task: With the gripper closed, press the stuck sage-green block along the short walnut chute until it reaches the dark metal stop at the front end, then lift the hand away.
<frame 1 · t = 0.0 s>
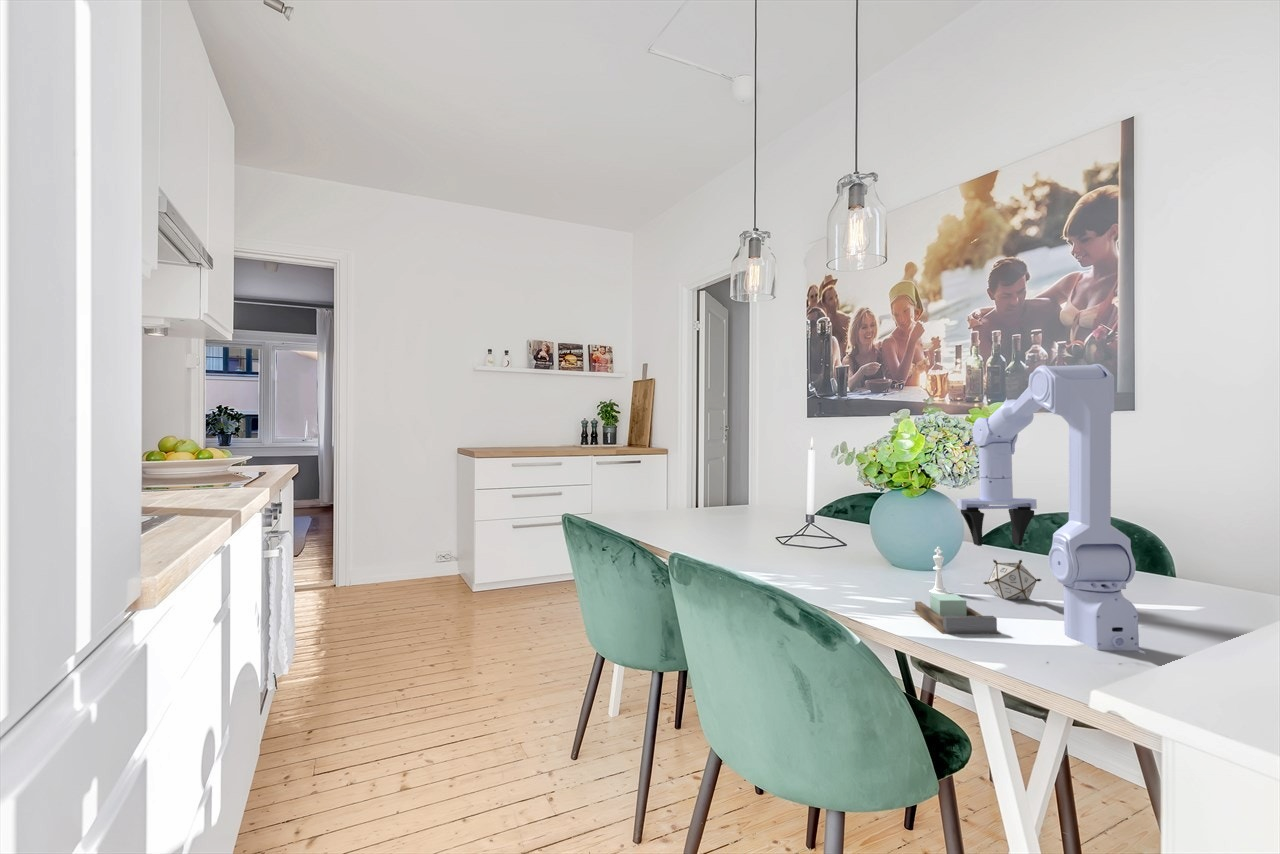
hand: (997, 544, 122), 10 cm above the table, tool pointing down, fingers open, 7 cm apart
chute: (953, 626, 103), on the table
game die: (1012, 603, 117), on the table
stuck block: (948, 607, 105), point 3 cm above the table, slide at 0.0 cm
chess piece: (939, 597, 122), on the table
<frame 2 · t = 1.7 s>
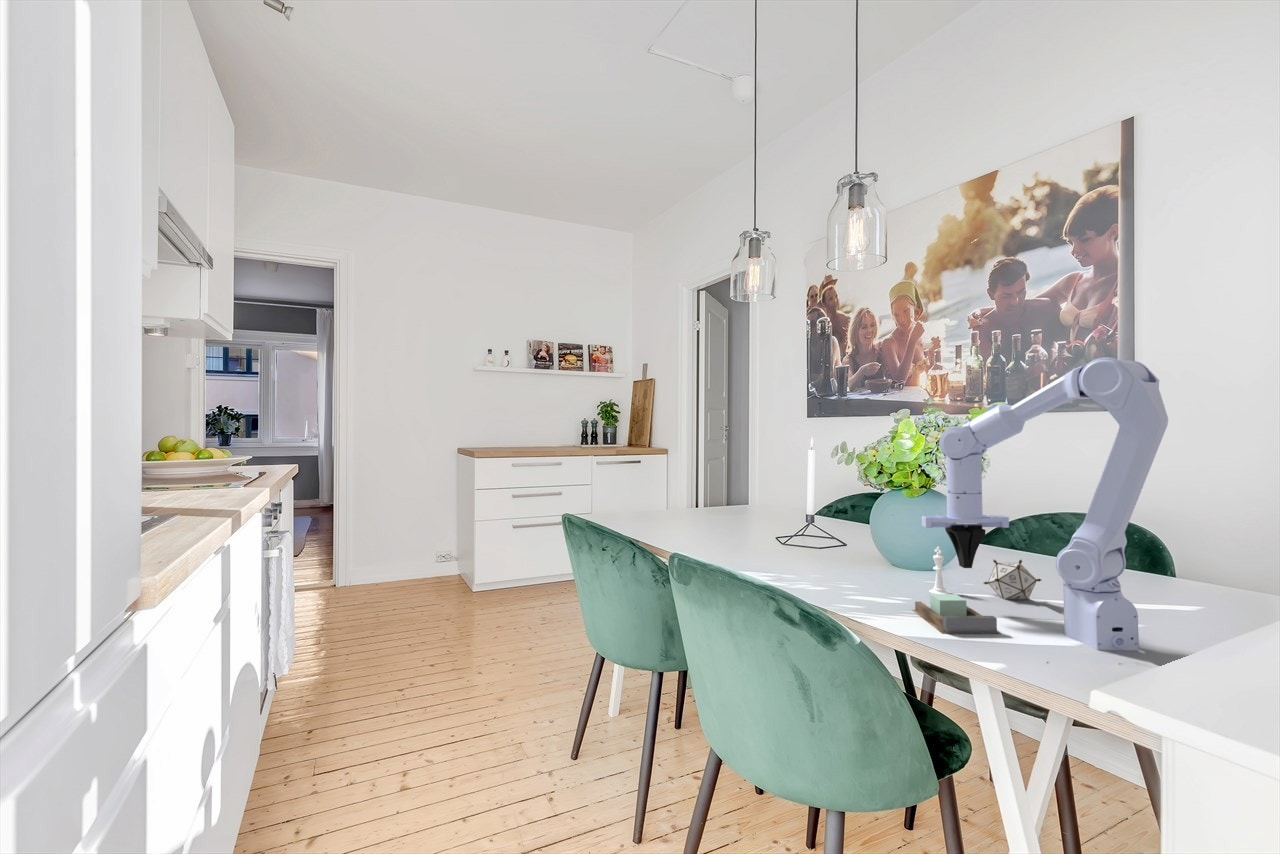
hand: (965, 567, 110), 8 cm above the table, tool pointing down, fingers closed
nothing on the table moved.
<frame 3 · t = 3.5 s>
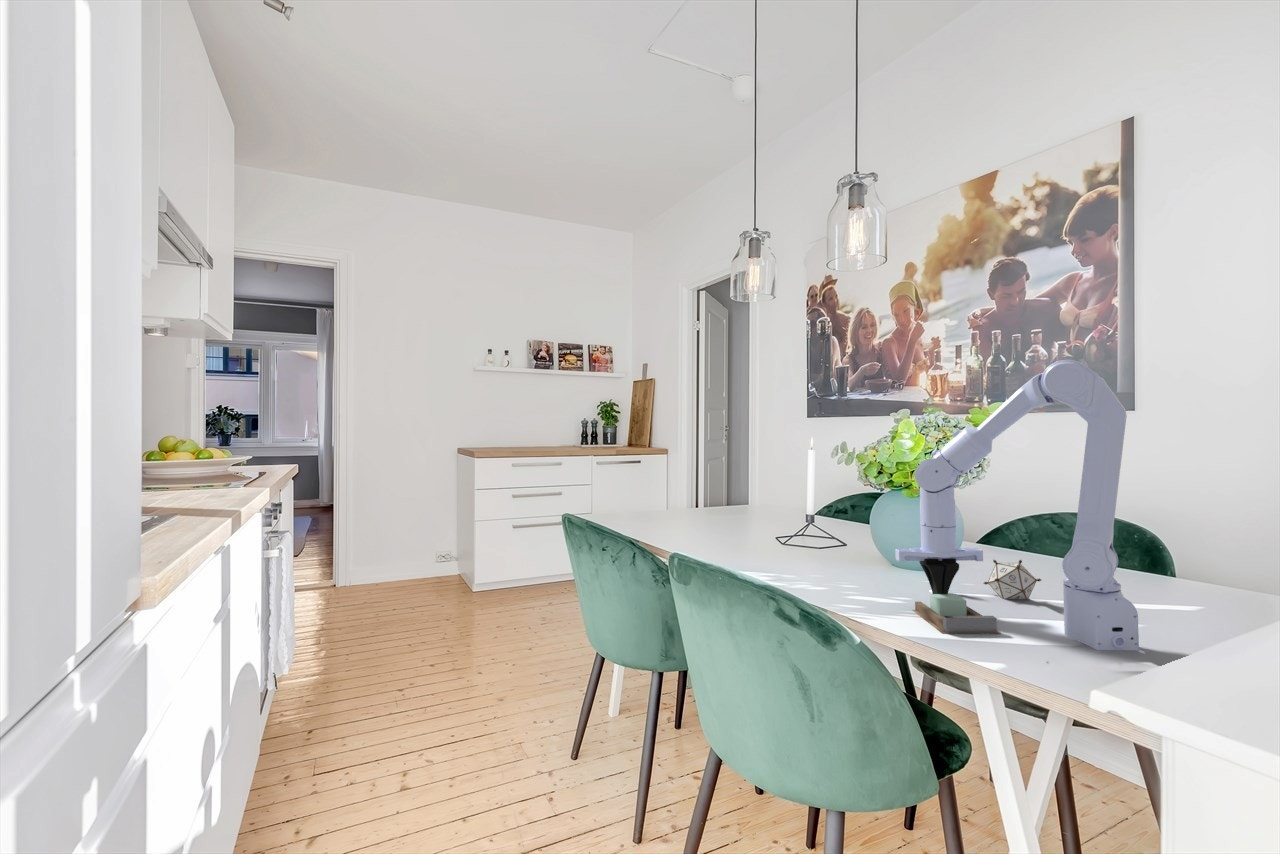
hand: (939, 601, 109), 3 cm above the table, tool pointing down, fingers closed, pressing on stuck block
stuck block: (948, 607, 105), point 3 cm above the table, slide at 0.0 cm, touching gripper
everything else where it was.
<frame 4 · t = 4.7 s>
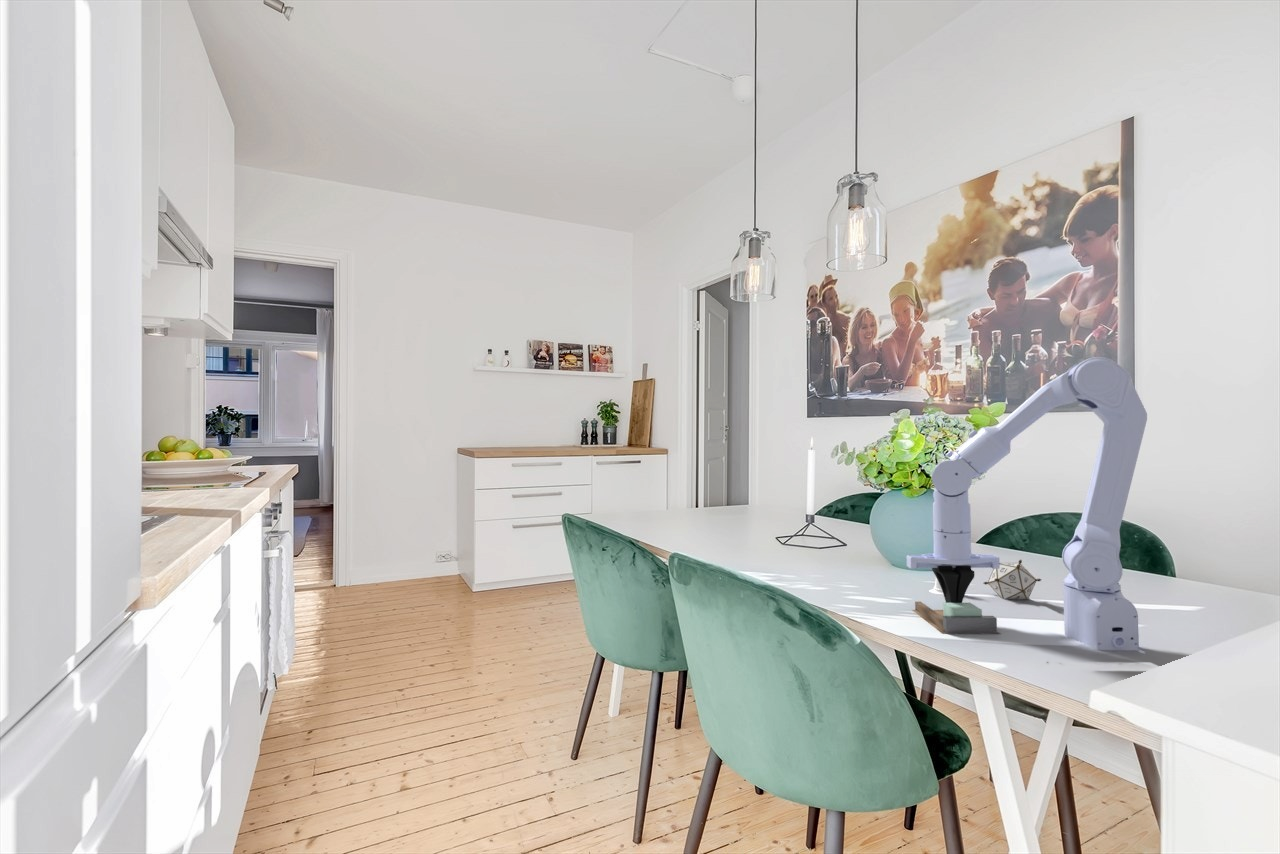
hand: (953, 610, 103), 3 cm above the table, tool pointing down, fingers closed, pressing on stuck block
stuck block: (962, 616, 100), point 3 cm above the table, slide at 5.3 cm, touching chute, gripper
everything else where it was.
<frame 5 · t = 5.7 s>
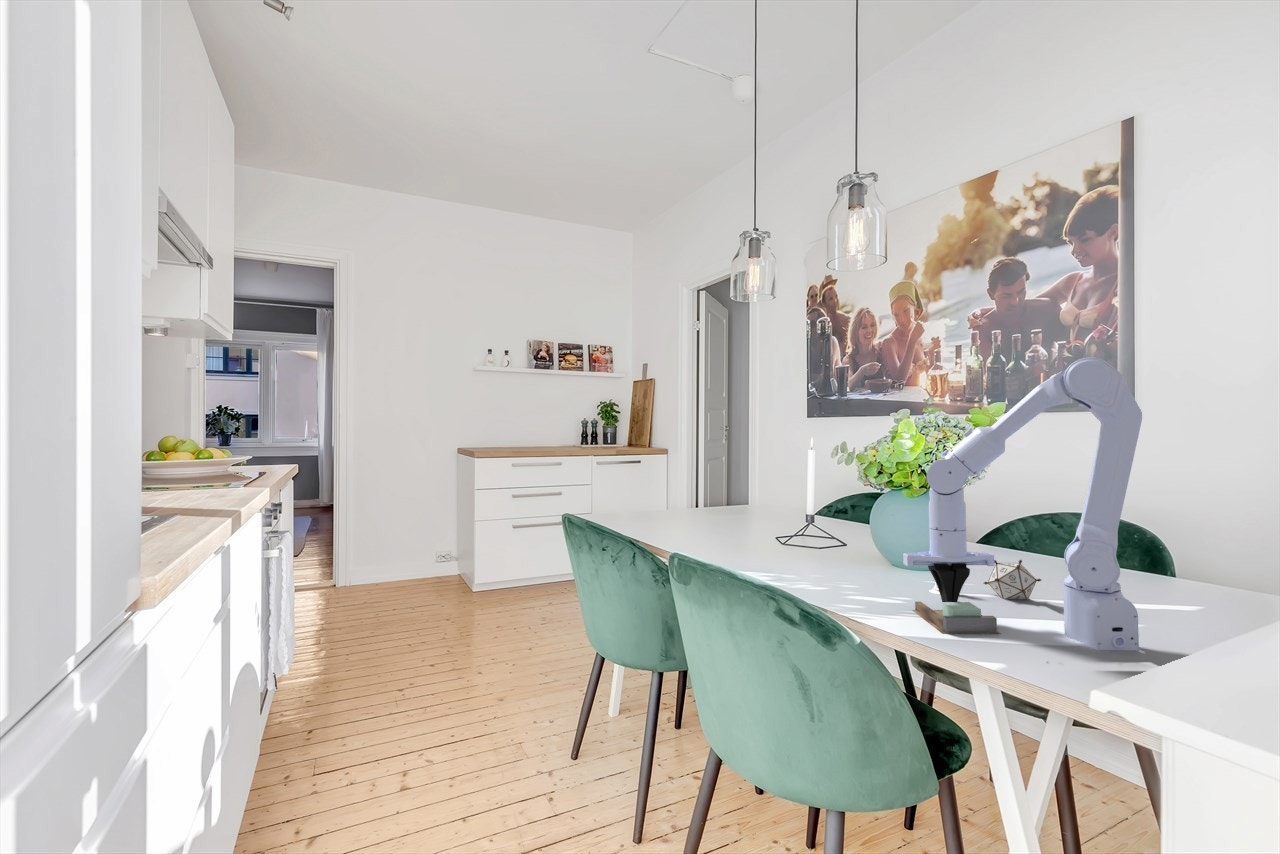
hand: (949, 607, 105), 3 cm above the table, tool pointing down, fingers closed
stuck block: (961, 616, 100), point 3 cm above the table, slide at 5.1 cm
everything else where it was.
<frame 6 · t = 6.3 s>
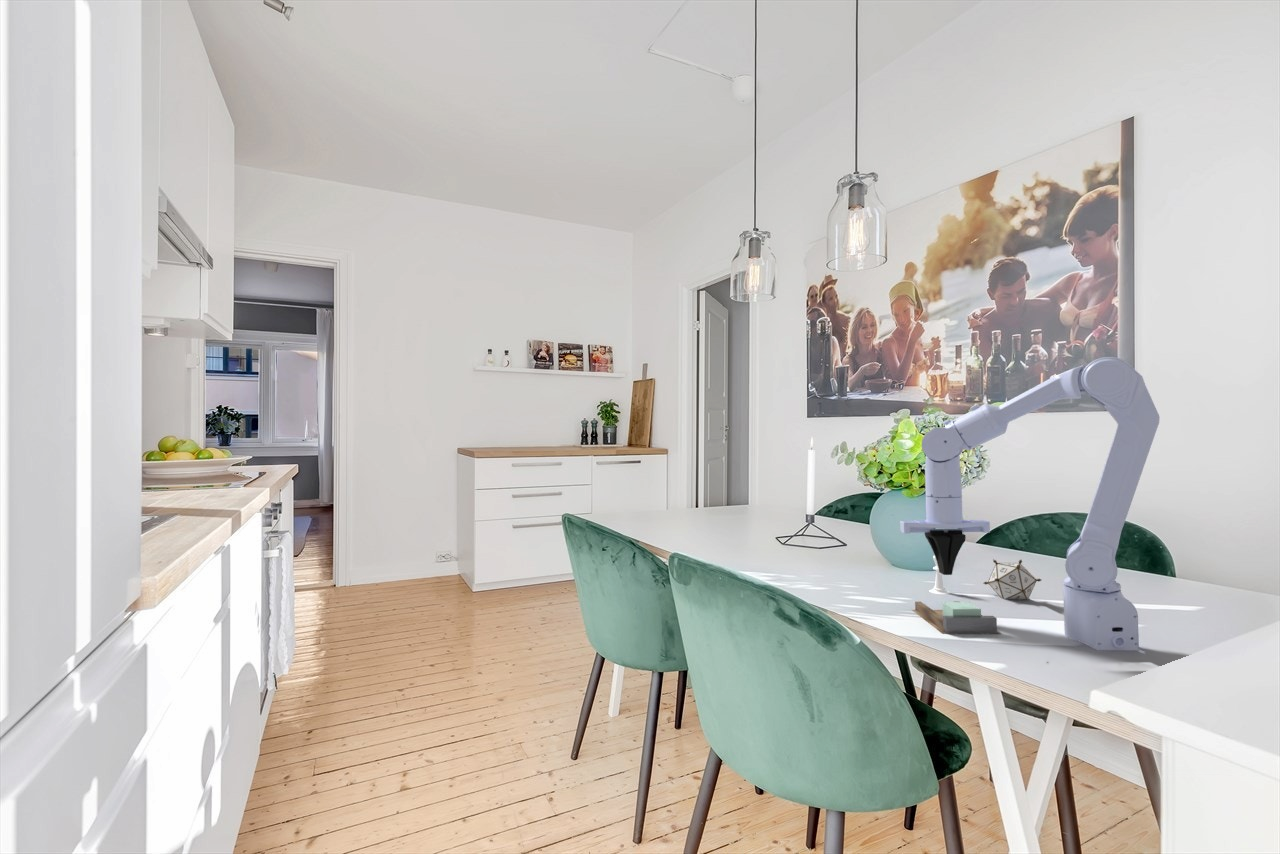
hand: (945, 573, 106), 8 cm above the table, tool pointing down, fingers closed
nothing on the table moved.
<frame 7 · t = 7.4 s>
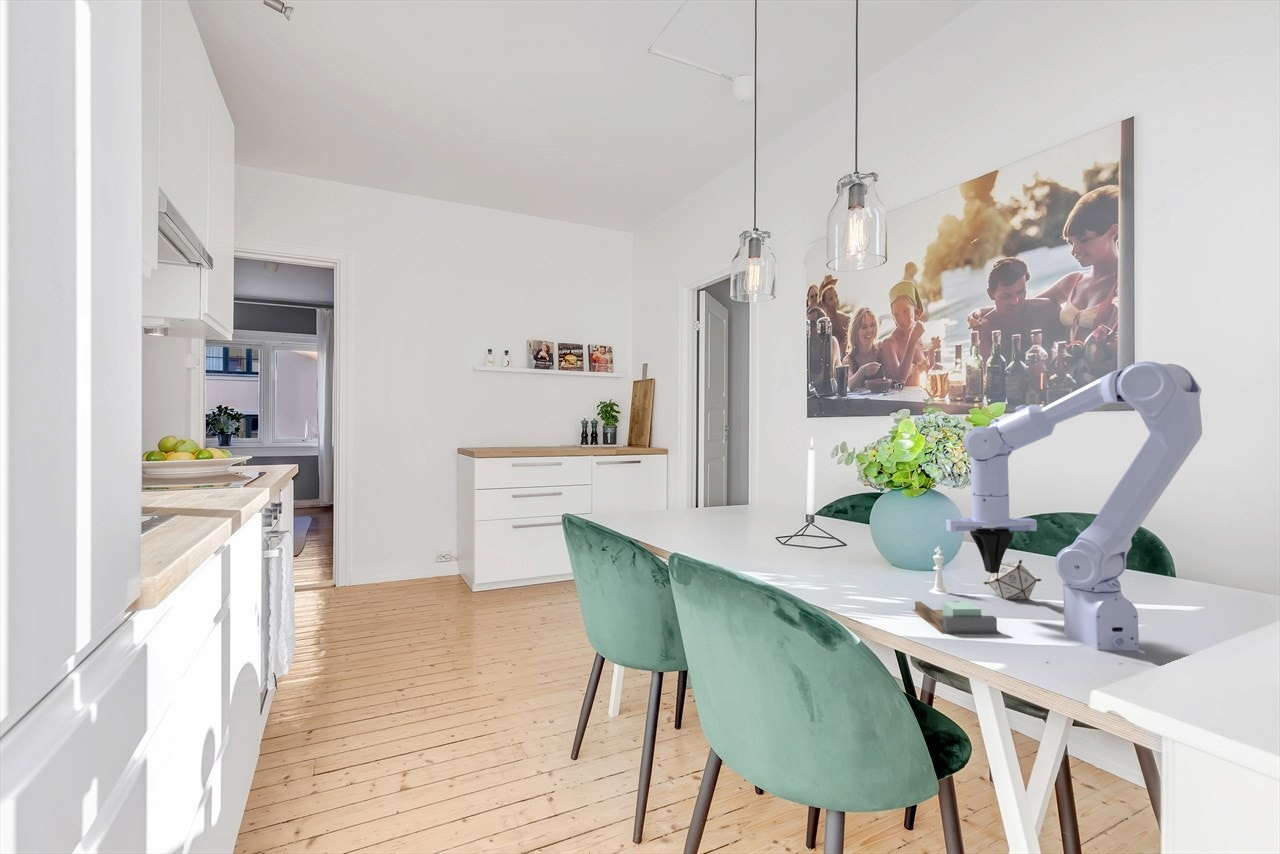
hand: (991, 571, 107), 8 cm above the table, tool pointing down, fingers closed
nothing on the table moved.
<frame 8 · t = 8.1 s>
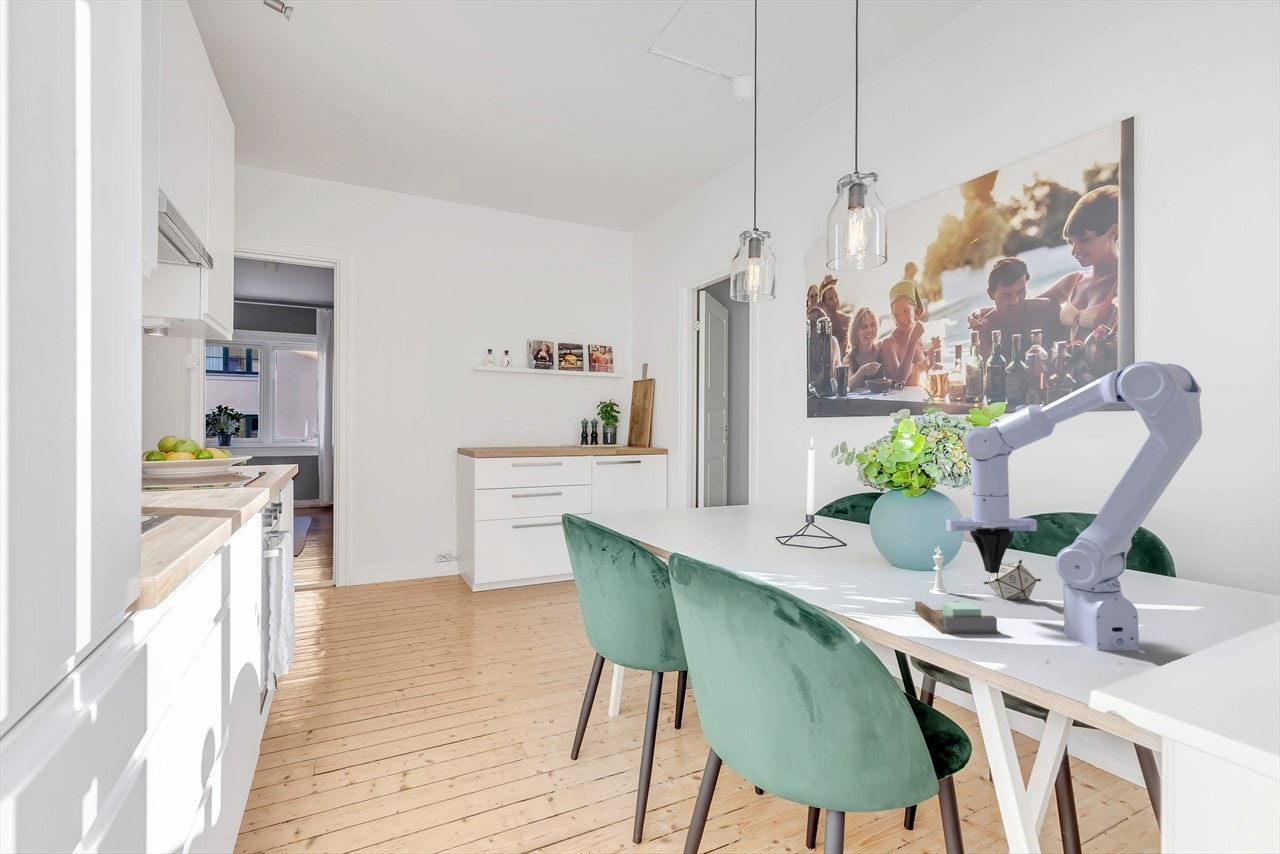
hand: (991, 571, 107), 8 cm above the table, tool pointing down, fingers closed
nothing on the table moved.
at the end: stuck block slide at 5.1 cm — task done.
